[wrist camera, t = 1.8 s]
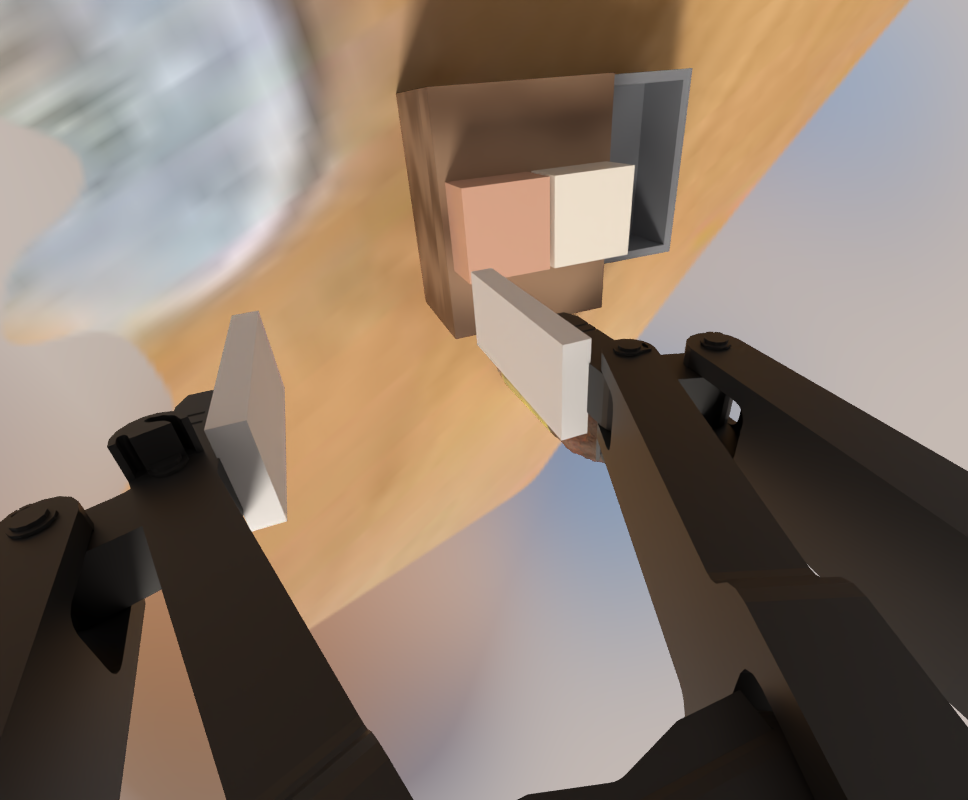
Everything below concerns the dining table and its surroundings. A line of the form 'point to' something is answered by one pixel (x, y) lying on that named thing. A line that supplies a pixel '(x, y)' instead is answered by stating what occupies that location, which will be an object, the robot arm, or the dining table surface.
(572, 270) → the plate
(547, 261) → the salmon pink square block
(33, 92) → the dining table surface
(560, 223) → the cream tile
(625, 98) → the bin
